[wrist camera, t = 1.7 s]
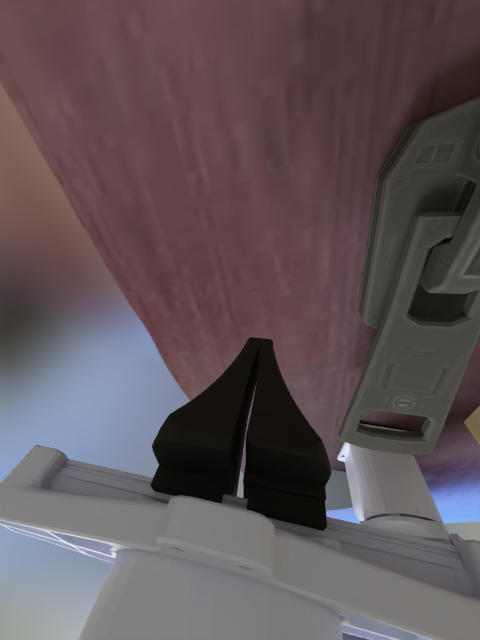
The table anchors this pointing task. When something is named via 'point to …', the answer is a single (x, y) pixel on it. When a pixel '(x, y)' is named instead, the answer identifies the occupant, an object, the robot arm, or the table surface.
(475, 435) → the cream rectangular bar
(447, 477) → the table surface
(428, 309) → the zipper pull
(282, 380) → the robot arm
